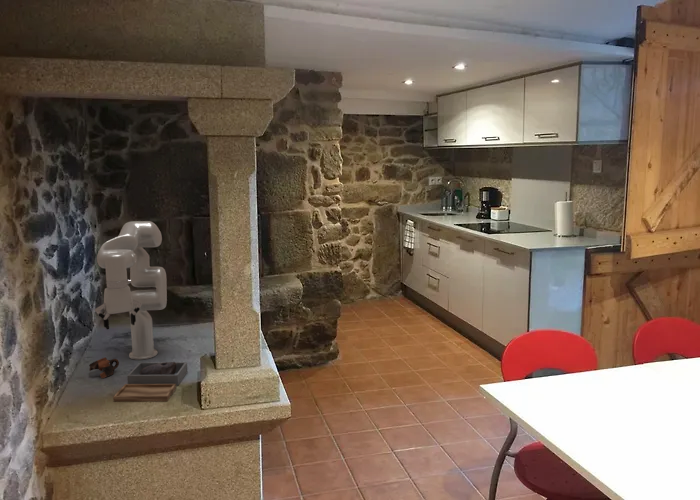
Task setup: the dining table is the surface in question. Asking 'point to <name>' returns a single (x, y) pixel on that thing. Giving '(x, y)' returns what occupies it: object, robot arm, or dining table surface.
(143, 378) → the charcoal bin
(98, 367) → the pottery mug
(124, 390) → the walnut tray
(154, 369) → the perforated stone tool
